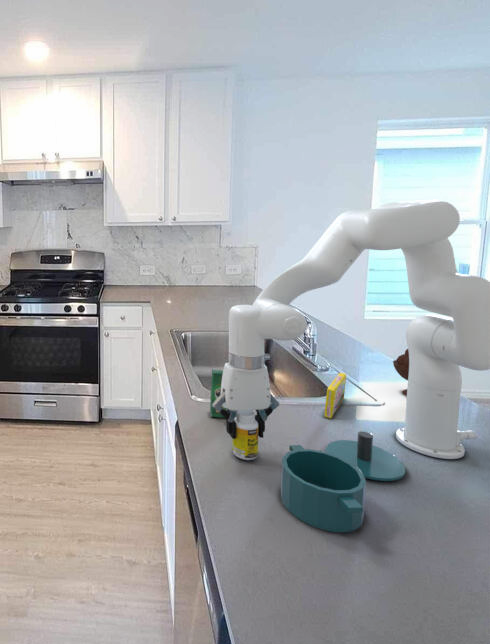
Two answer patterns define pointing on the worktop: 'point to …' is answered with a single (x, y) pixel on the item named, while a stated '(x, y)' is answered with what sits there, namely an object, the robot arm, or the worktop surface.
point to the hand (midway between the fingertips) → (245, 434)
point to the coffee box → (216, 392)
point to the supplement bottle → (246, 435)
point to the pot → (323, 489)
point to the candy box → (335, 395)
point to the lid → (368, 458)
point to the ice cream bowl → (402, 367)
